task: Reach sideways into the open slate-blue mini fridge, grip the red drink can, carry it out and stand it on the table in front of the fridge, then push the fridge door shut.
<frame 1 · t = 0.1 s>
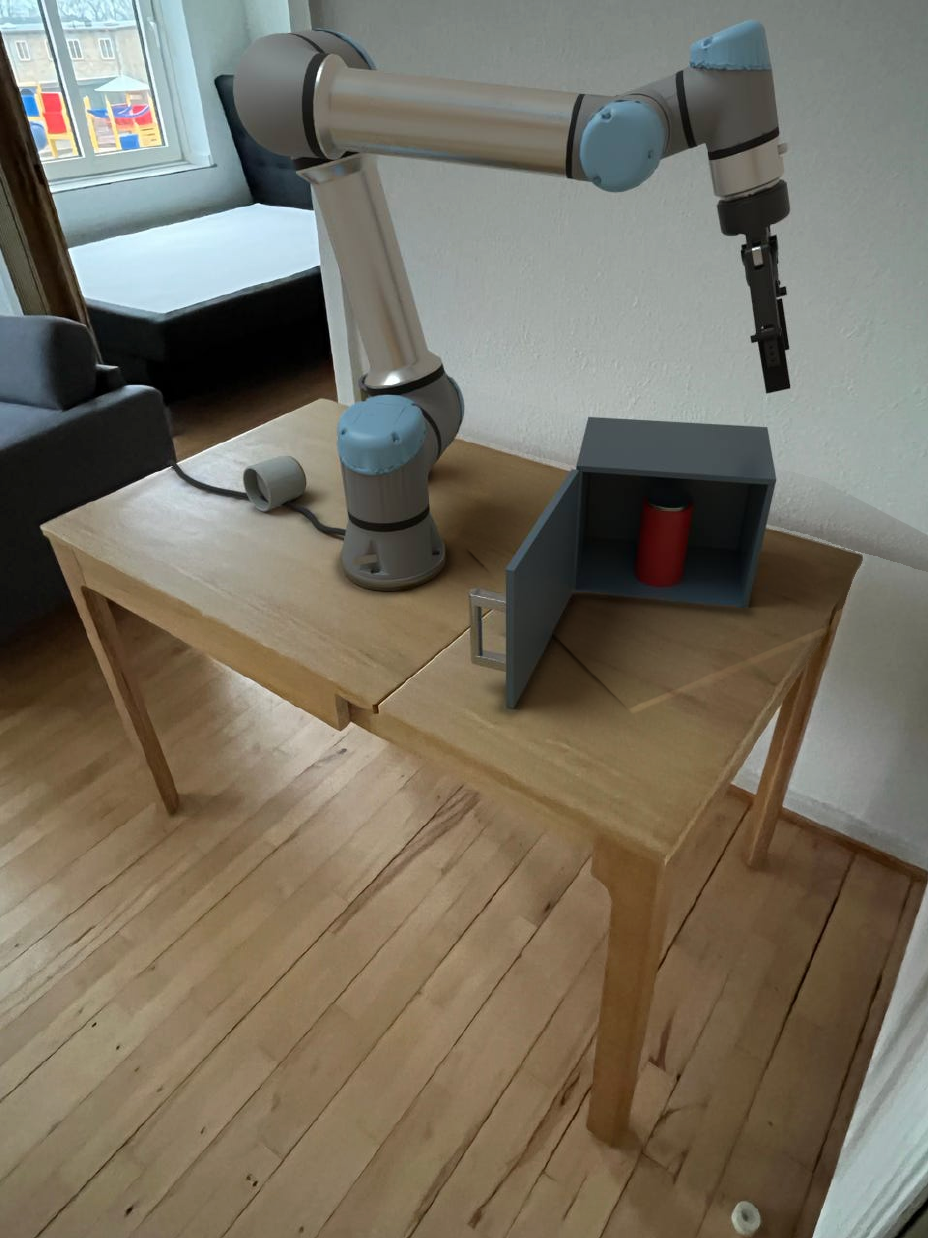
hand: (778, 369, 101), 28 cm above the table, tool tilted 20°, fingers open, 13 cm apart
fridge: (658, 572, 116), on the table
fridge door: (522, 581, 98), point 10 cm above the table, hinge at 100.0°
canister: (400, 476, 142), on the table
can: (658, 573, 114), point 1 cm above the table, touching fridge
ceramic mug: (273, 500, 137), on the table
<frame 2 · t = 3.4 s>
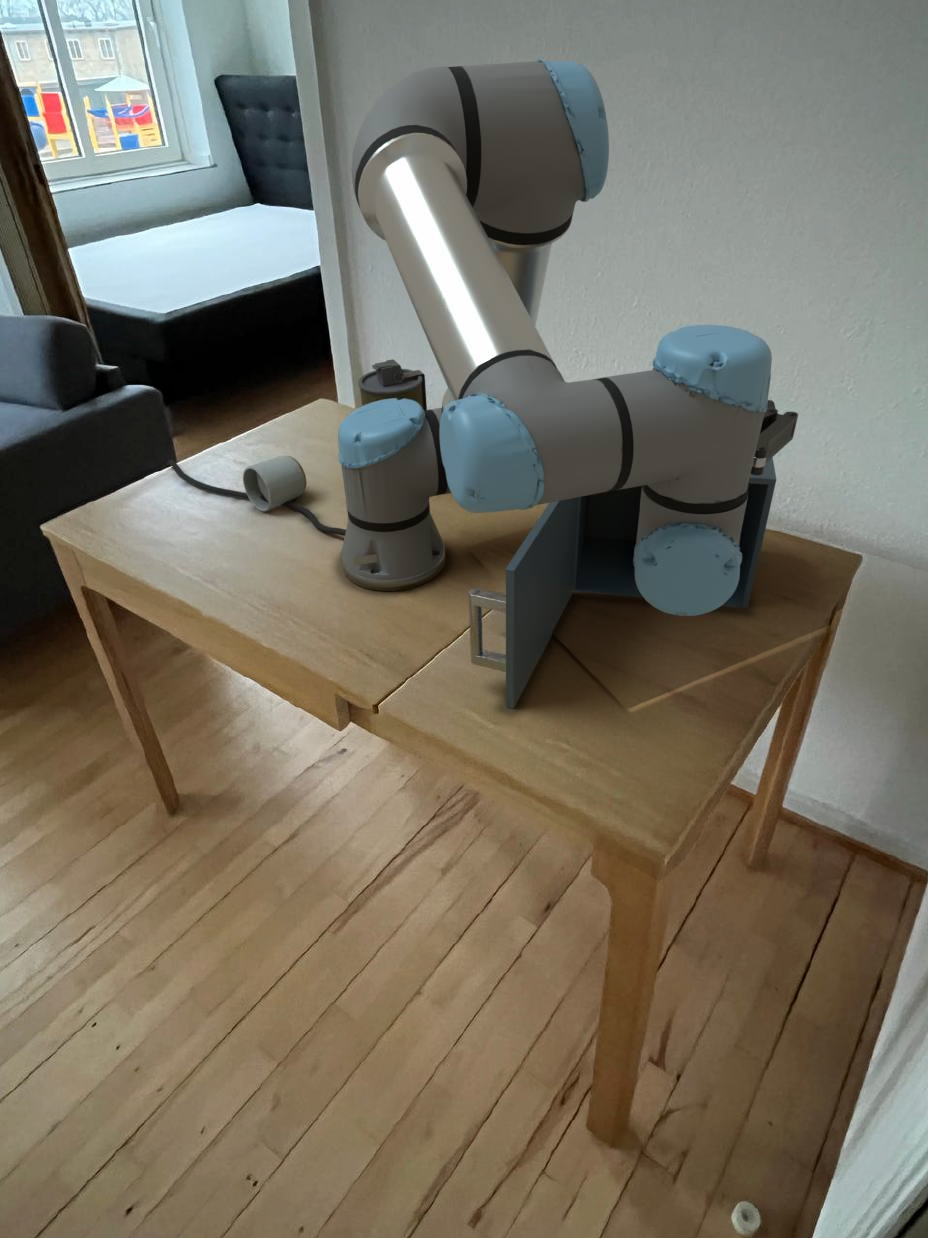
hand: (687, 390, 86), 32 cm above the table, tool horizontal, fingers open, 13 cm apart
nothing on the table moved.
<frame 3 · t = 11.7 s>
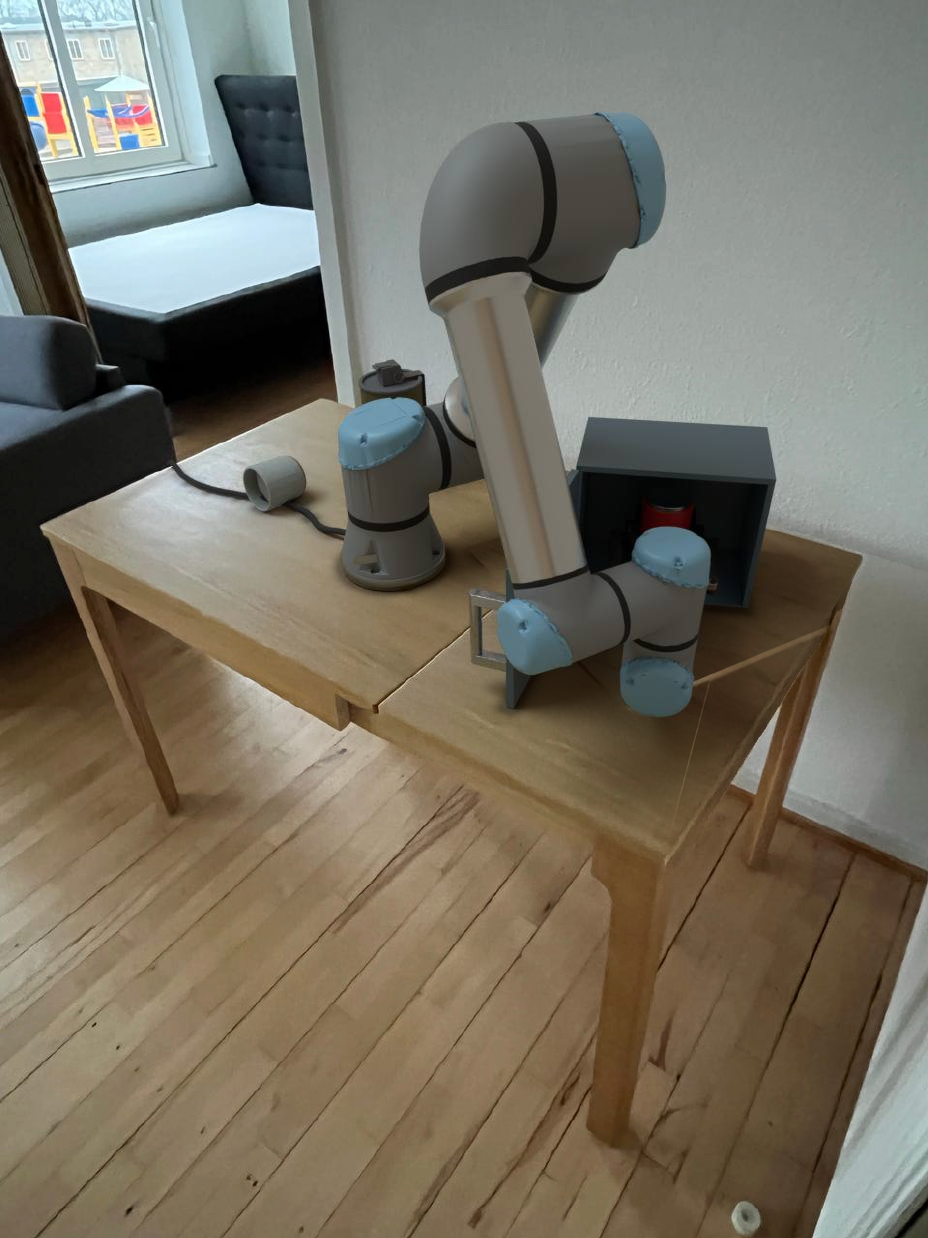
hand: (664, 514, 114), 8 cm above the table, tool horizontal, fingers closed on can, 7 cm apart
can: (658, 573, 114), point 1 cm above the table, touching fridge, gripper
everything else where it was.
when the fingers open (7 cm above the table, at t = 23.1 s): can stays where it is, on the table.
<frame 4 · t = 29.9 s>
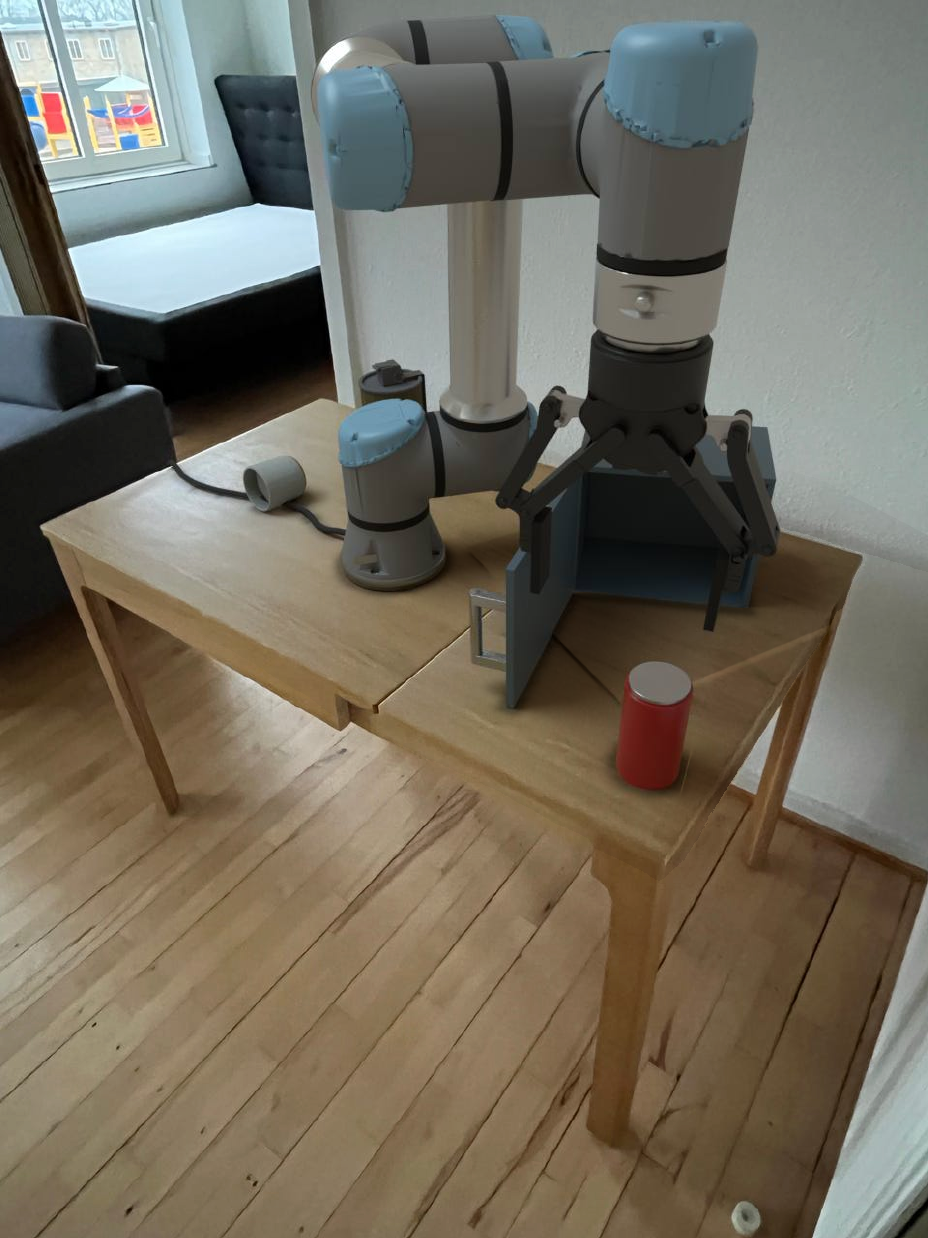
hand: (622, 602, 64), 28 cm above the table, tool pointing down, fingers open, 13 cm apart
can: (646, 766, 87), on the table
everything else where it was.
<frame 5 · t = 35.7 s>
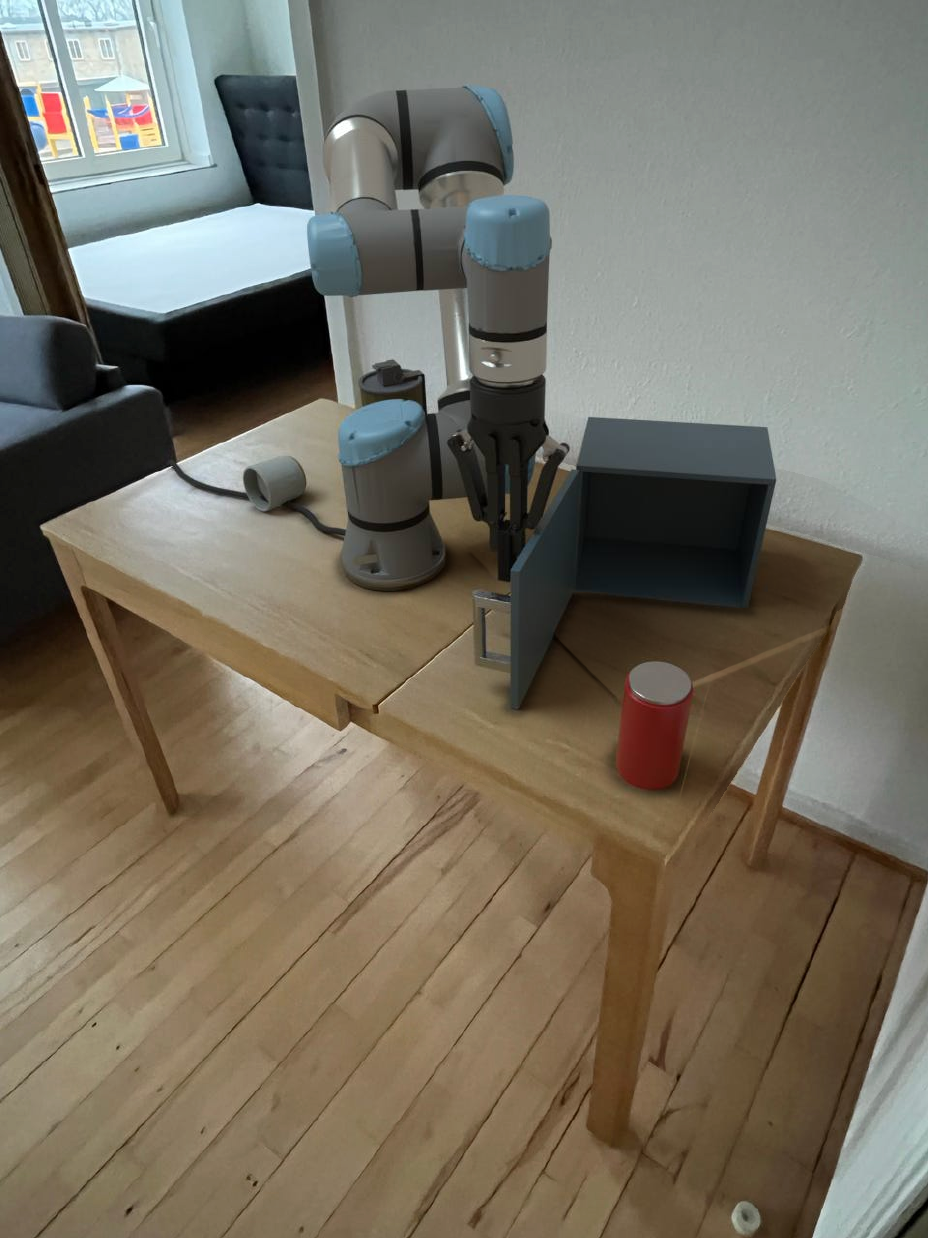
hand: (507, 574, 94), 13 cm above the table, tool pointing down, fingers closed
fridge door: (524, 581, 98), point 10 cm above the table, hinge at 98.6°, touching gripper
everything else where it was.
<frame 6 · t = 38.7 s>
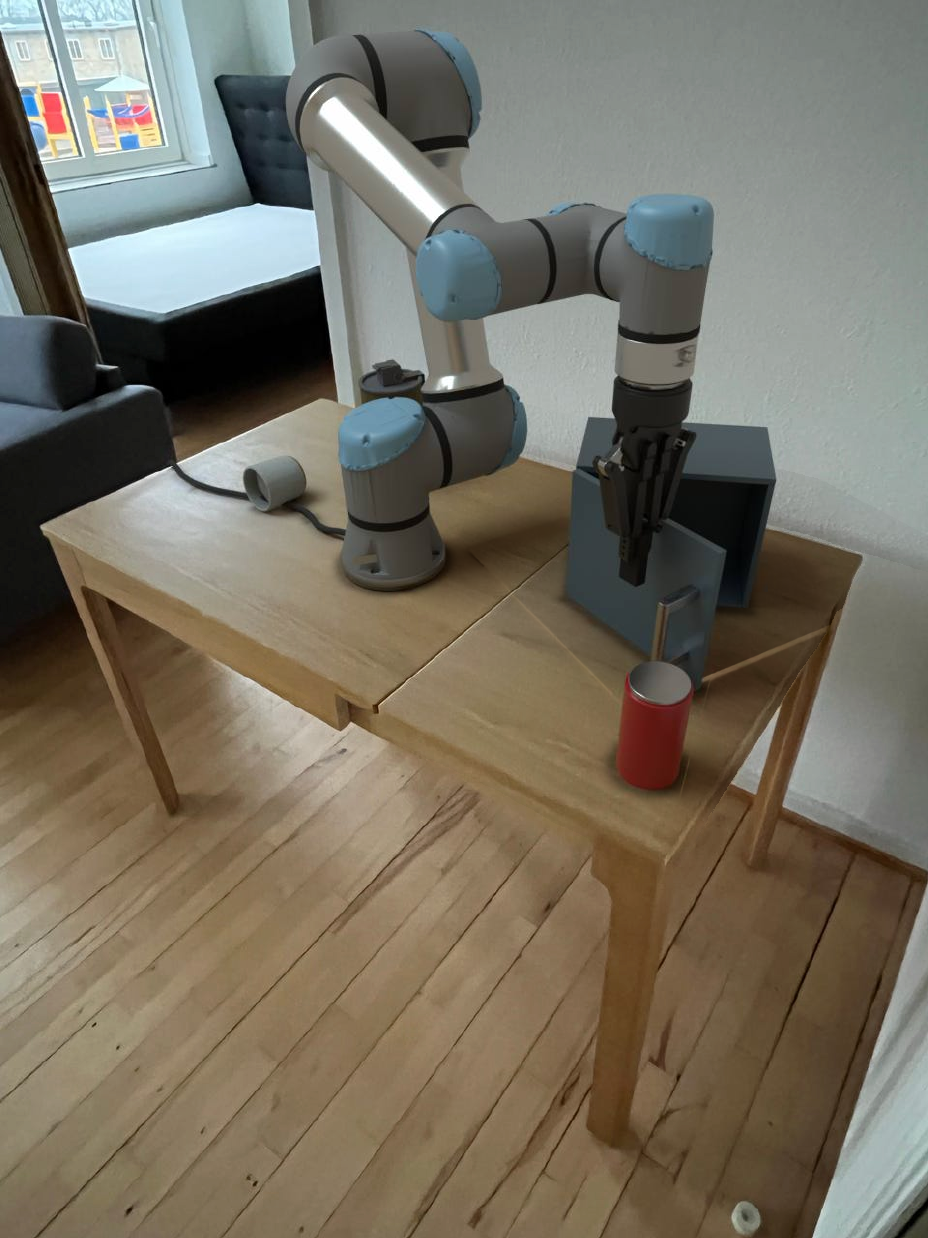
hand: (631, 579, 92), 13 cm above the table, tool pointing down, fingers closed
fridge door: (619, 584, 97), point 10 cm above the table, hinge at 43.5°, touching gripper
everything else where it was.
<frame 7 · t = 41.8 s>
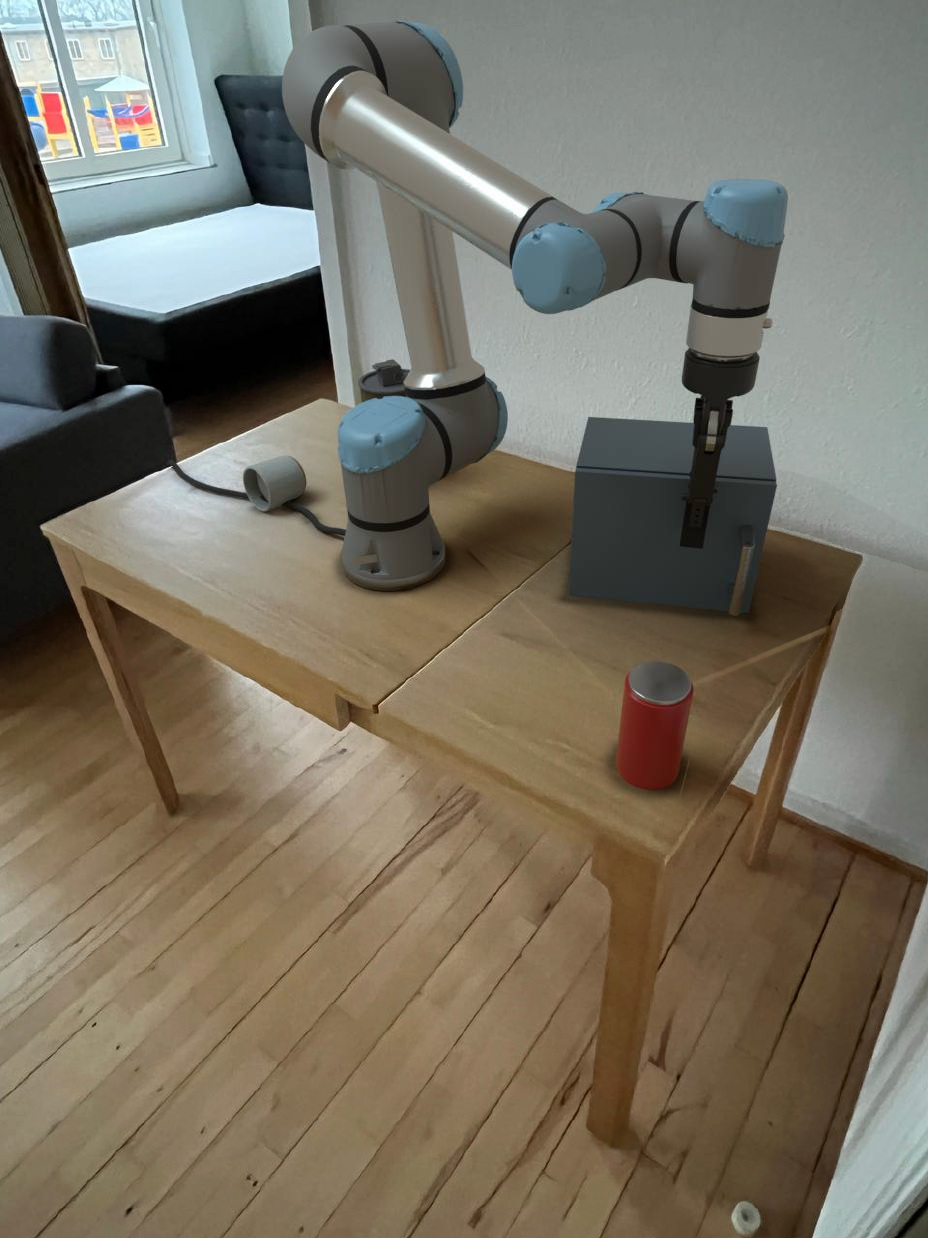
hand: (691, 544, 98), 13 cm above the table, tool pointing down, fingers closed
fridge door: (664, 555, 101), point 10 cm above the table, hinge at -0.1°, touching gripper
everything else where it was.
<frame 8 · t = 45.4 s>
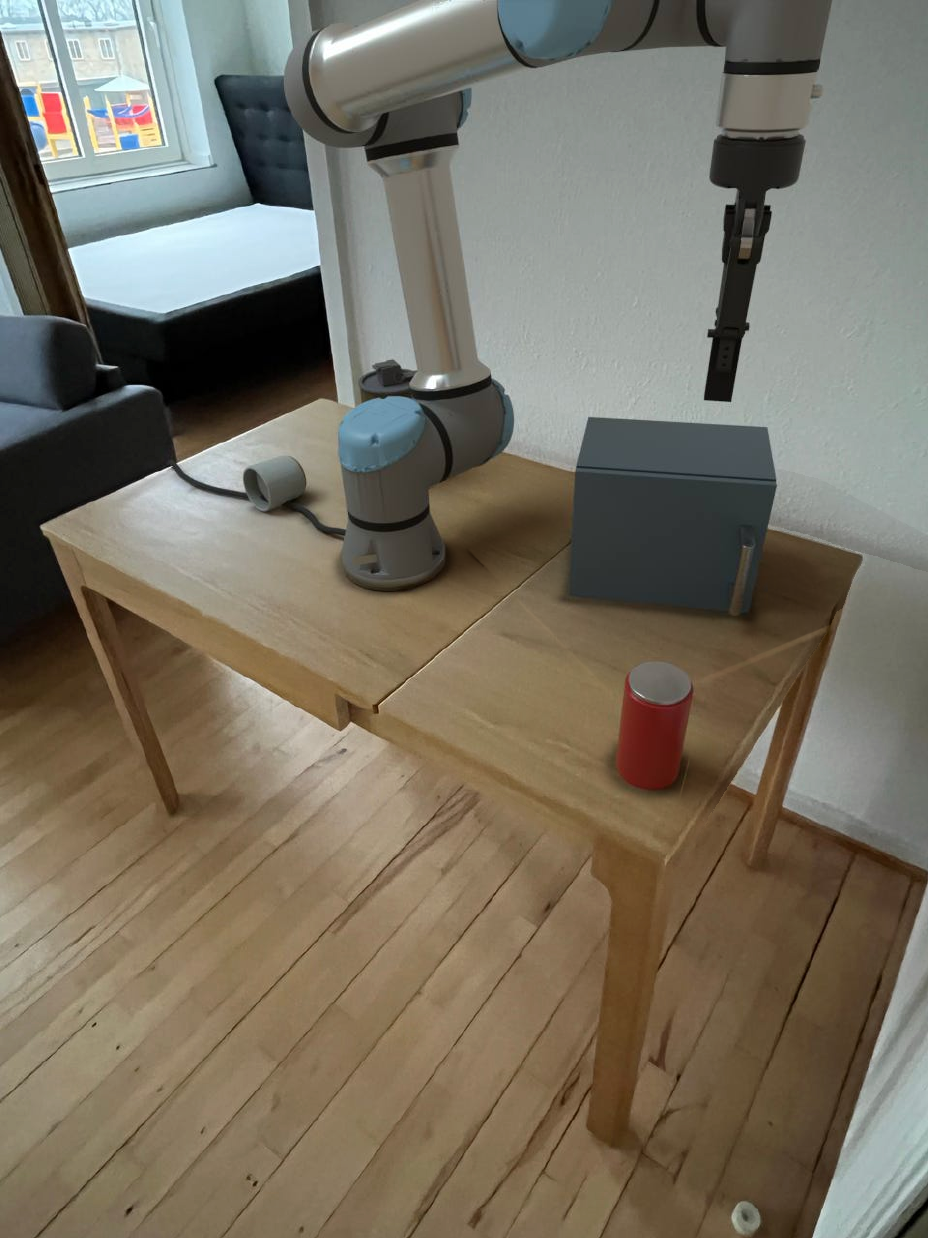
hand: (717, 398, 83), 32 cm above the table, tool pointing down, fingers closed
fridge door: (664, 555, 101), point 10 cm above the table, hinge at -0.1°
everything else where it was.
at the end: can inside the target area (0.0 cm from its centre), on the table; can tilted 0°; fridge door at +0° (first picture: +100°) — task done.
